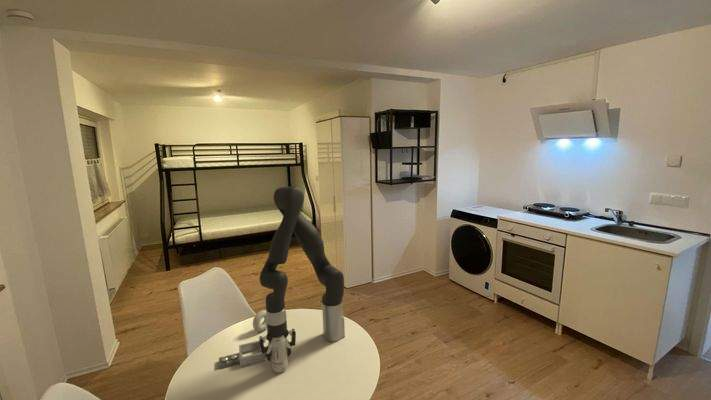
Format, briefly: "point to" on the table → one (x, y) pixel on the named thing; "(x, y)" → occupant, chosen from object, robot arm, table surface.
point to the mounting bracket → (242, 360)
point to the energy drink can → (279, 354)
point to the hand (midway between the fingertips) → (279, 357)
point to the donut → (257, 320)
